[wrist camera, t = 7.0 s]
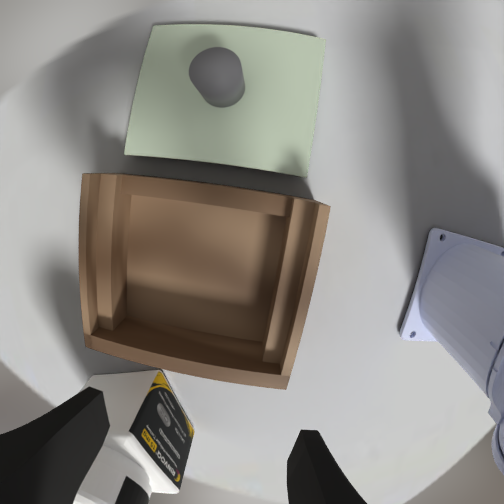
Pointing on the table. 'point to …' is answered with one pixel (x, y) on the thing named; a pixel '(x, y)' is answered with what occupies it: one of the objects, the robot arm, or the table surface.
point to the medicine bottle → (137, 440)
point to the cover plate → (248, 122)
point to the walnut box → (197, 275)
